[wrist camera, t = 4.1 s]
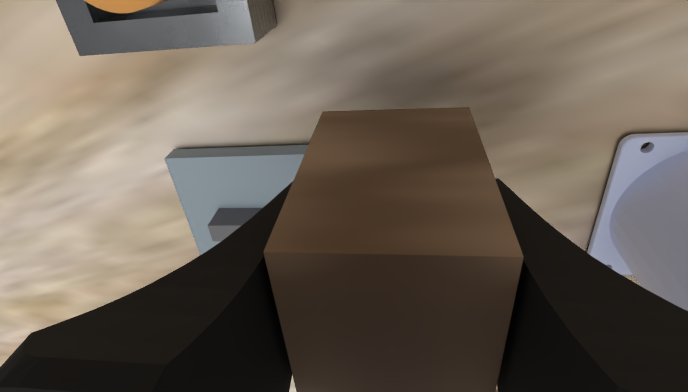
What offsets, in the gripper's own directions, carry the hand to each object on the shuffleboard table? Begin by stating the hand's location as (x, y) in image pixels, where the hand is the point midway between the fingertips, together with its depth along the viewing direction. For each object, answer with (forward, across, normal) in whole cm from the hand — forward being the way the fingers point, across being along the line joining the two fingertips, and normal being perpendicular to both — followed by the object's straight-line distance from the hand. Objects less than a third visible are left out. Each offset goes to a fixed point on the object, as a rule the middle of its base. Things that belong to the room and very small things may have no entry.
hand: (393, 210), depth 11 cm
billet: (+2, 0, 0) cm, 2 cm away
